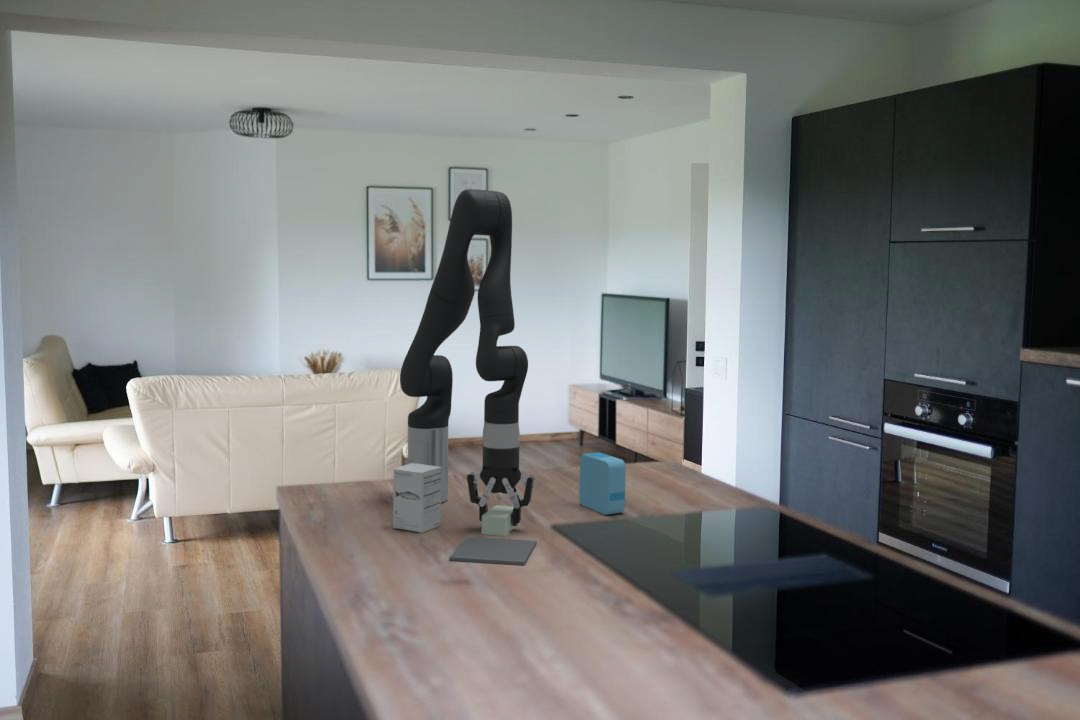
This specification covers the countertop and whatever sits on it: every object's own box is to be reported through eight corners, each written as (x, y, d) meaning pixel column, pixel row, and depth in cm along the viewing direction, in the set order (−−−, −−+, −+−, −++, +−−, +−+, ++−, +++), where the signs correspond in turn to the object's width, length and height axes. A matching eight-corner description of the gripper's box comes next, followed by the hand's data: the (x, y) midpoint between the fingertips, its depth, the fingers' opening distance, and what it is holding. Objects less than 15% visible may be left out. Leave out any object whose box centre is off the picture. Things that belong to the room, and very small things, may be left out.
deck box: (481, 535, 199) (481, 515, 199) (495, 523, 208) (495, 505, 207) (505, 537, 198) (505, 517, 198) (517, 525, 207) (518, 507, 206)
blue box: (625, 514, 217) (626, 460, 215) (607, 516, 214) (609, 462, 213) (595, 502, 227) (596, 451, 226) (578, 504, 225) (579, 452, 224)
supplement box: (391, 528, 202) (391, 468, 201) (412, 520, 208) (413, 461, 207) (421, 533, 198) (422, 472, 197) (442, 525, 205) (442, 465, 204)
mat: (449, 560, 181) (449, 557, 181) (466, 539, 195) (466, 536, 195) (524, 565, 179) (524, 562, 179) (536, 543, 193) (536, 540, 193)
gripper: (462, 445, 199) (461, 527, 200) (533, 448, 196) (531, 531, 198) (470, 438, 206) (470, 518, 208) (538, 441, 204) (537, 521, 205)
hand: (500, 524), depth 203 cm, fingers open, 5 cm apart
